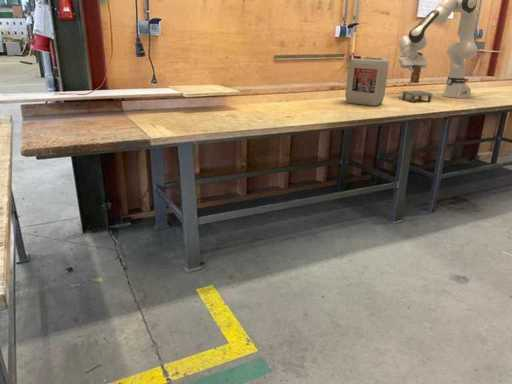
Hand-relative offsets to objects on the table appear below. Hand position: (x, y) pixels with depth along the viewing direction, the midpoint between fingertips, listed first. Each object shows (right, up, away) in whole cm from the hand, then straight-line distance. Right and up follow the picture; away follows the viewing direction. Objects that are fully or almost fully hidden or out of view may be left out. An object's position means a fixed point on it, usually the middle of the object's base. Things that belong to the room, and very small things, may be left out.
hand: (416, 72), depth 293 cm
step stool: (+1, -19, +3) cm, 20 cm away
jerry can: (-40, -25, -12) cm, 49 cm away
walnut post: (0, -6, +3) cm, 7 cm away
